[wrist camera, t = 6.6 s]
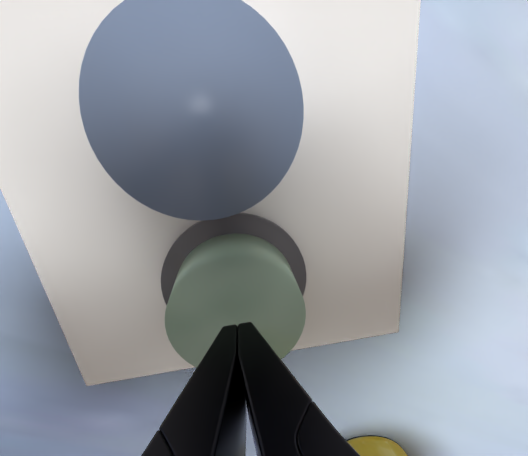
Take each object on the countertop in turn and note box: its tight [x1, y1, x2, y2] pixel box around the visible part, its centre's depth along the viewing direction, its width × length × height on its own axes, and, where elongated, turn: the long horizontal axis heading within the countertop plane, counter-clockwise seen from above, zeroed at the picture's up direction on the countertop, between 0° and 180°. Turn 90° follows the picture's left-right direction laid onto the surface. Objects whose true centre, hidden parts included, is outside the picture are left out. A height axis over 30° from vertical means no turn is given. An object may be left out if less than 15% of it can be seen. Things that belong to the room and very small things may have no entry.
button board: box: [0, 0, 421, 386], centre depth 10 cm, size 20×14×2 cm
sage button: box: [165, 233, 306, 368], centre depth 10 cm, size 4×4×2 cm
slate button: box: [79, 0, 304, 221], centre depth 7 cm, size 4×4×2 cm
